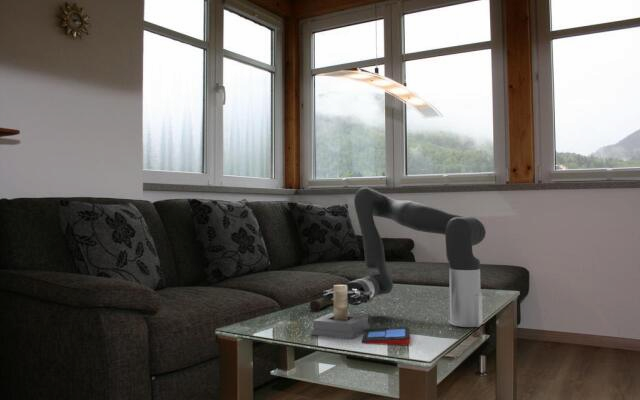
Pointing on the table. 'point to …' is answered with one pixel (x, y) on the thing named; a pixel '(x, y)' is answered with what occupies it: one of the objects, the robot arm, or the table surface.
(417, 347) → the table surface
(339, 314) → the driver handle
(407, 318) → the table surface
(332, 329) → the tool holder
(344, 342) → the table surface
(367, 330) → the game console
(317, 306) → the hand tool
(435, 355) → the table surface
